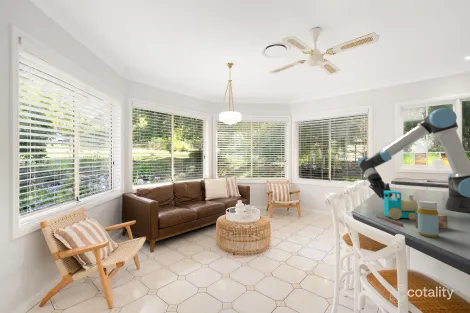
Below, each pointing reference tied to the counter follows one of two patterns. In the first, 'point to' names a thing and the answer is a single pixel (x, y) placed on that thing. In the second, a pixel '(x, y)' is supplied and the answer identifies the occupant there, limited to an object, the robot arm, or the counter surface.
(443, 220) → the buffer stop
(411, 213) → the toy train
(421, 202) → the bottle
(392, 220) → the rail far
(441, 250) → the counter surface
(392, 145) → the robot arm
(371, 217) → the counter surface
